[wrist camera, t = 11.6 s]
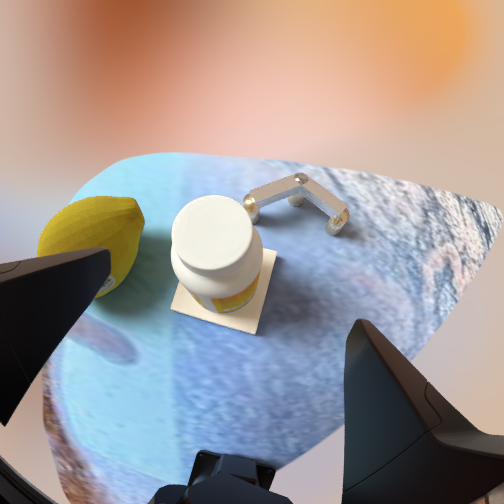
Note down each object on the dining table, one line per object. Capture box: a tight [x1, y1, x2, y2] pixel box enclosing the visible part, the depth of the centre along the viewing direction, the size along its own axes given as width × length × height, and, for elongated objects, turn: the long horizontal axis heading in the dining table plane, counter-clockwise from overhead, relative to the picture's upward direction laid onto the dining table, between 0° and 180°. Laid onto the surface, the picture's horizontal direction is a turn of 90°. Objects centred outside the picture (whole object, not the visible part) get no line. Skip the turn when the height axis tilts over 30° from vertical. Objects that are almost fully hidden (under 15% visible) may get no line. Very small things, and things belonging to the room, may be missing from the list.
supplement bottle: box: [171, 195, 263, 314], centre depth 18 cm, size 5×5×10 cm
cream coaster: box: [170, 248, 277, 335], centre depth 23 cm, size 7×7×1 cm
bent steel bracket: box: [244, 173, 349, 236], centre depth 24 cm, size 4×9×4 cm, turn 75°
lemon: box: [37, 196, 145, 299], centre depth 20 cm, size 11×8×8 cm
